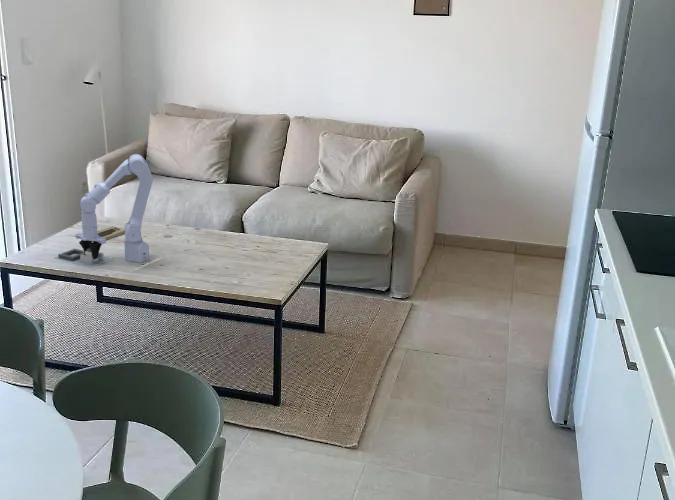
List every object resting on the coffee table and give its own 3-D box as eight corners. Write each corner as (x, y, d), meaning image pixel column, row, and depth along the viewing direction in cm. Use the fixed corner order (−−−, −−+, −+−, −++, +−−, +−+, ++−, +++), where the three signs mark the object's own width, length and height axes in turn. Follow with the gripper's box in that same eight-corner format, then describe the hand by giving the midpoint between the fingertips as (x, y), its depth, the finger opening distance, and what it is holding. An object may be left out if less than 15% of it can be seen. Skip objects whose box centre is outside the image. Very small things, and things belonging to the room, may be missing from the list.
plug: (98, 260, 296) (97, 247, 295) (91, 263, 293) (90, 250, 291) (93, 258, 298) (92, 246, 296) (85, 261, 294) (84, 248, 292)
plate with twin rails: (103, 259, 297) (103, 253, 296) (91, 264, 291) (91, 257, 290) (92, 257, 299) (92, 250, 298) (80, 262, 294) (80, 255, 293)
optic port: (89, 255, 302) (88, 251, 301) (73, 261, 294) (72, 257, 293) (74, 251, 305) (74, 247, 304) (58, 257, 297) (58, 253, 297)
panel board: (113, 261, 299) (113, 259, 298) (91, 270, 288) (91, 267, 288) (75, 252, 307) (74, 250, 307) (53, 260, 297) (53, 258, 296)
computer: (100, 243, 321) (99, 236, 320) (86, 240, 324) (86, 233, 323) (125, 234, 334) (125, 228, 333) (112, 231, 337) (112, 225, 336)
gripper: (68, 225, 290) (71, 257, 294) (96, 231, 284) (98, 263, 288) (81, 221, 296) (84, 252, 300) (108, 226, 290) (111, 258, 295)
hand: (92, 257), depth 295 cm, fingers closed on plug, 3 cm apart
